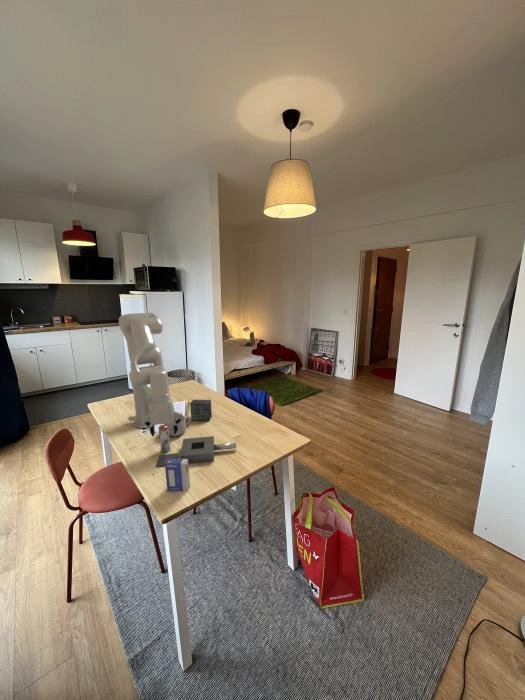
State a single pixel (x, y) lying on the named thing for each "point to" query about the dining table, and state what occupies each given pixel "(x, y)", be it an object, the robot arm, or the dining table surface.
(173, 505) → the dining table surface
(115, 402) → the dining table surface
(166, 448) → the silver copper cylinder
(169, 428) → the teacup
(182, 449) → the block
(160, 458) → the rubber pad
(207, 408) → the small box
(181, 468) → the walkman
